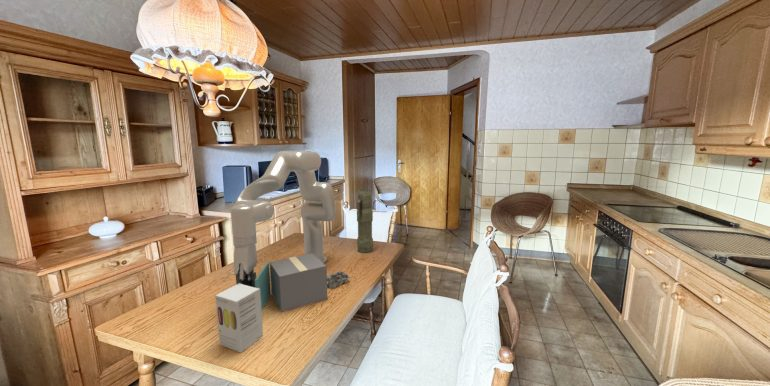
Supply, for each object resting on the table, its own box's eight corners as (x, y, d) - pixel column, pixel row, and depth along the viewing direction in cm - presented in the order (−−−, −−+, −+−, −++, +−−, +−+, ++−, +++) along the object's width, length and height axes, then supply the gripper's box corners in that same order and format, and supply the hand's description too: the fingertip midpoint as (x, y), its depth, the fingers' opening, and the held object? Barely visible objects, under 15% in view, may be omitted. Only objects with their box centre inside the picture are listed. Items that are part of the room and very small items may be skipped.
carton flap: (251, 294, 129) (248, 258, 126) (270, 293, 130) (268, 257, 127) (237, 316, 113) (234, 275, 111) (259, 314, 114) (256, 274, 111)
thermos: (353, 252, 177) (351, 191, 171) (363, 246, 187) (362, 187, 181) (366, 255, 173) (366, 192, 167) (376, 248, 183) (376, 188, 177)
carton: (271, 294, 130) (269, 261, 128) (313, 283, 140) (312, 252, 137) (281, 312, 117) (279, 276, 114) (327, 299, 126) (326, 265, 124)
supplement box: (218, 345, 98) (213, 295, 95) (242, 328, 107) (238, 282, 104) (241, 353, 95) (236, 301, 92) (264, 335, 103) (260, 287, 100)
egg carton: (331, 290, 134) (331, 281, 133) (321, 284, 139) (321, 275, 139) (351, 282, 141) (351, 273, 141) (341, 276, 147) (340, 268, 146)
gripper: (242, 233, 118) (246, 279, 121) (224, 247, 102) (229, 300, 106) (262, 233, 118) (266, 279, 121) (248, 247, 103) (252, 299, 106)
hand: (248, 288), depth 113 cm, fingers closed
